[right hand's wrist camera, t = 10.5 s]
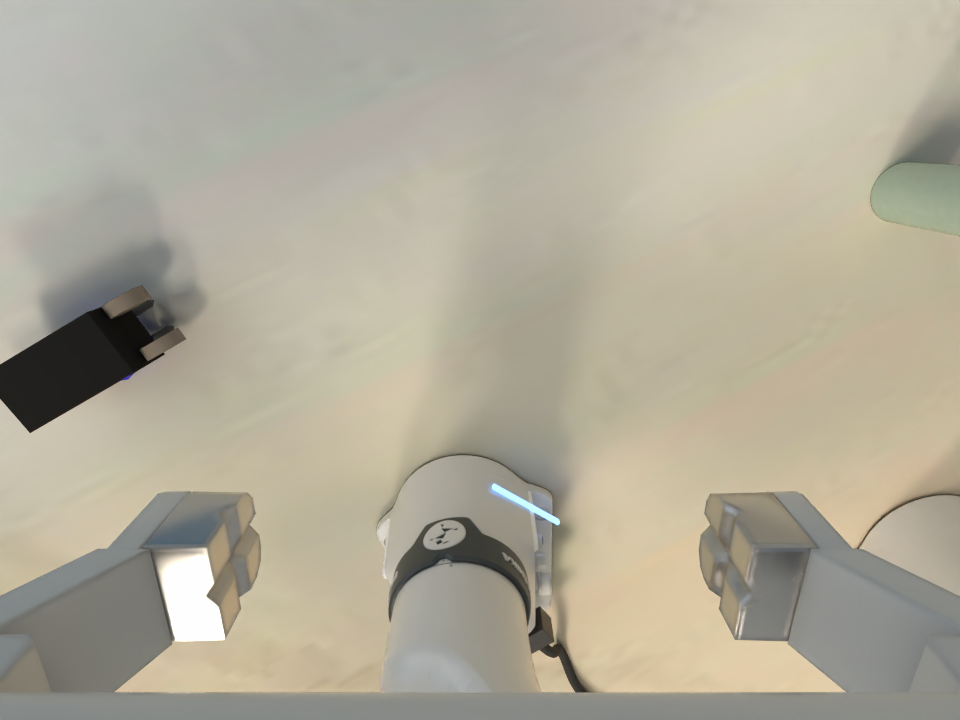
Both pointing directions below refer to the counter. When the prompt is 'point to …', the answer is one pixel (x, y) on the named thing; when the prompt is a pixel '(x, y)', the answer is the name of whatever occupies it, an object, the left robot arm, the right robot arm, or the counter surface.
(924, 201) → the jar
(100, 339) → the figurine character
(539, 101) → the counter surface
